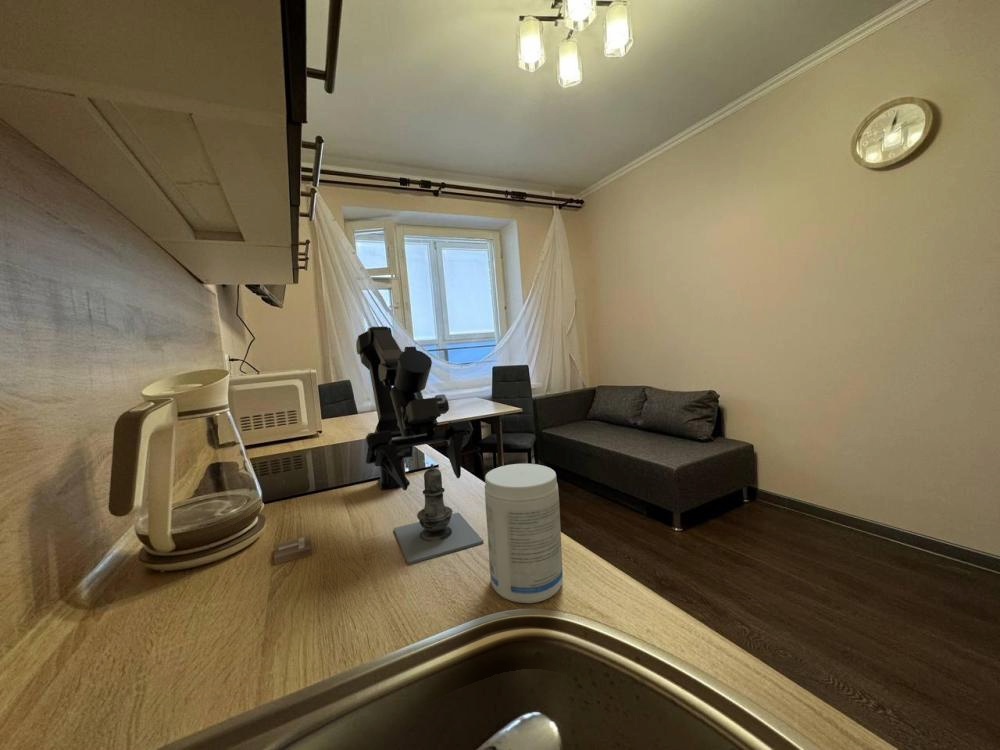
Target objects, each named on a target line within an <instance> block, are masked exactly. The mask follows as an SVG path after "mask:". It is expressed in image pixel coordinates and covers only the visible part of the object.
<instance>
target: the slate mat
mask: <svg viewBox="0 0 1000 750" xmlns="http://www.w3.org/2000/svg"><path fill="white" fill-rule="evenodd" d="M447 527H449V528H451V530H452V534H451V535H450V536H449V537H448V538H446V539H444V540H441V541H436V542H428V541H424V540H422V539H421V538H420V534H421V532H422V531H423V530H424V528H423V527H422V526H421V524H420V522H419V521H418V522H417V521H416V522H414V523H410V524H409V523H408V524H404V525H401V526H398V527H397V526H396V527H393V532H394V534H395V536H396V538H397V541H398V544H399V546H400V549H401V551H402V554H403V555H404V558H405V561H406V564H407V565H412V564H415V563H420V562H422V561H426V560H429V559H433V558H437V557H440V556H443V555H447V554H450V553H453V552H458V551H460V550H464V549H467V548H471V547H475V546H478V545H483V544H484V539H482V537H481V536H480V535H479V534H478V533H477V531H475V529H474V528H473V527H472V525H470V524H469V522H468V521H467V520H466V519H465V518H464V516H462V515H461V513H460V512H454V513H452V515H451V519H450V522H449V524H448V525H447Z"/></svg>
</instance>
